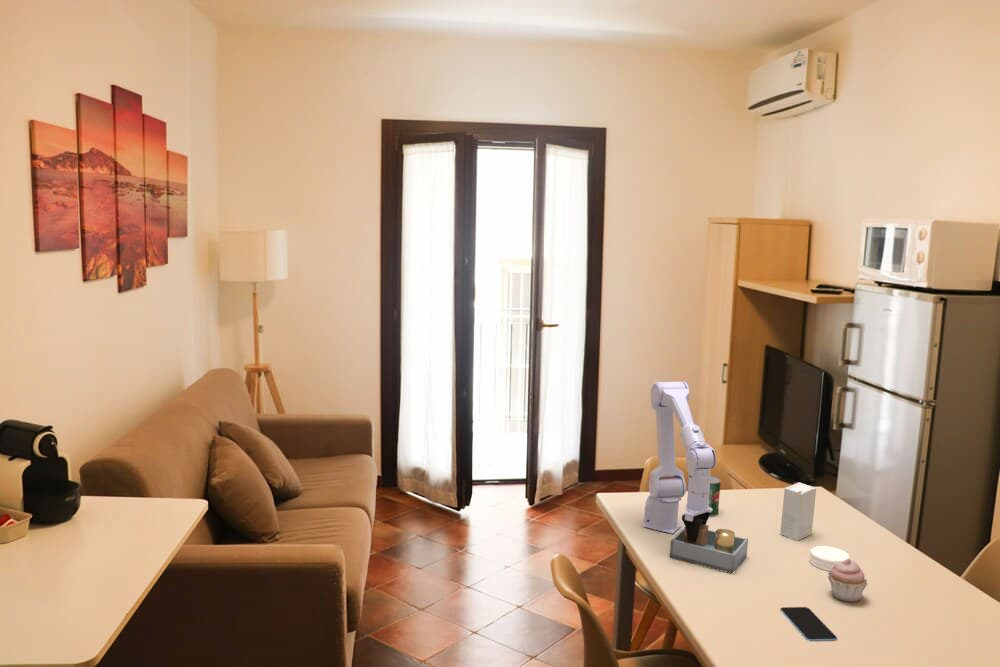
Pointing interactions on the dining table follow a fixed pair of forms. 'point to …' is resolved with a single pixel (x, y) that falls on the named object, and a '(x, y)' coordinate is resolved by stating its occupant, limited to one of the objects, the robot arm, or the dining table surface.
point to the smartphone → (808, 624)
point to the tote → (709, 552)
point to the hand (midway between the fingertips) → (695, 538)
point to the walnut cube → (699, 536)
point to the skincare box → (798, 511)
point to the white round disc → (827, 557)
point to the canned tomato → (714, 495)
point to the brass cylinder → (724, 540)
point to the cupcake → (847, 581)
